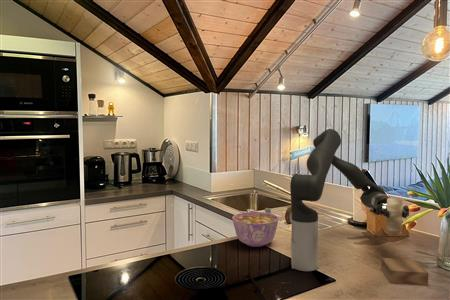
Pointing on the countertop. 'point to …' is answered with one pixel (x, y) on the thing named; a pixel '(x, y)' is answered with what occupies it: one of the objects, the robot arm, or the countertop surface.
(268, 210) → the flask
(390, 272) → the walnut base
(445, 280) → the countertop surface
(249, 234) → the bowl of food
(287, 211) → the tin
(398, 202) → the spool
